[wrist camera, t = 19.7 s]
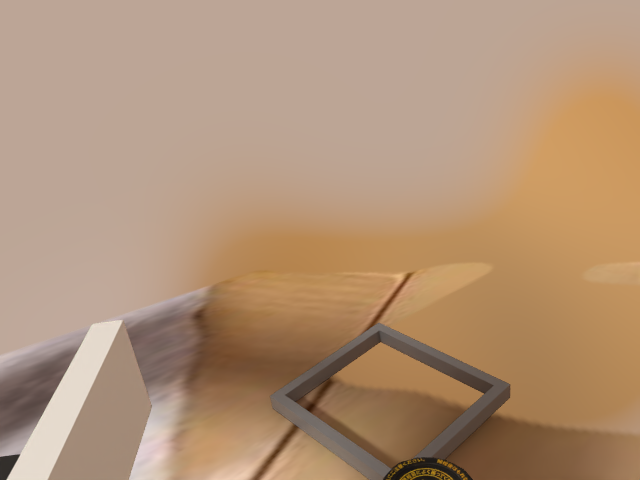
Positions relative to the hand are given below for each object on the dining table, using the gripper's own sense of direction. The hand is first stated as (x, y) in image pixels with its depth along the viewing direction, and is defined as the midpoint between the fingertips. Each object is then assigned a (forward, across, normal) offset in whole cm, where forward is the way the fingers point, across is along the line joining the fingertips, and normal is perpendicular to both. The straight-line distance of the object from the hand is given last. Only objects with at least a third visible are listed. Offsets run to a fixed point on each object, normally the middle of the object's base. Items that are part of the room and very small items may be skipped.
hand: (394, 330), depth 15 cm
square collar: (+30, +2, -30) cm, 43 cm away
